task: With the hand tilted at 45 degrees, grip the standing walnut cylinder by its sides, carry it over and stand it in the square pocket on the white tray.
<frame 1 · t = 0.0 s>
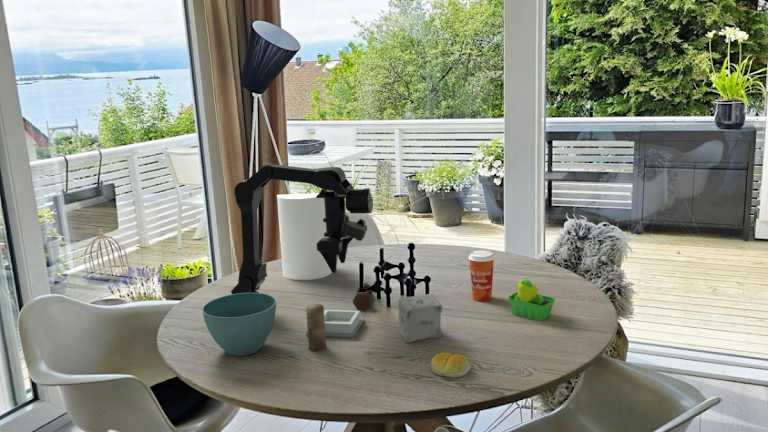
hand: (338, 267, 192), 15 cm above the table, tool pointing down, fingers open, 9 cm apart
cylinder: (307, 273, 239), on the table
paper cup: (482, 299, 205), on the table
teal bowl: (243, 350, 175), on the table
bolt: (364, 302, 208), on the table
light grey box: (420, 337, 178), on the table
walnut cylinder: (317, 347, 174), on the table
bread roll: (450, 371, 158), on the table
white tray: (335, 327, 187), on the table
fruit basket: (529, 316, 190), on the table
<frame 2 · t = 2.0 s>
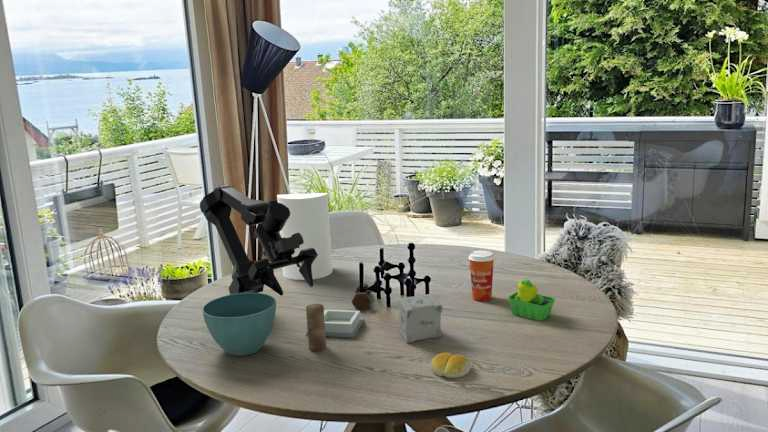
hand: (297, 290, 177), 14 cm above the table, tool tilted 45°, fingers open, 9 cm apart
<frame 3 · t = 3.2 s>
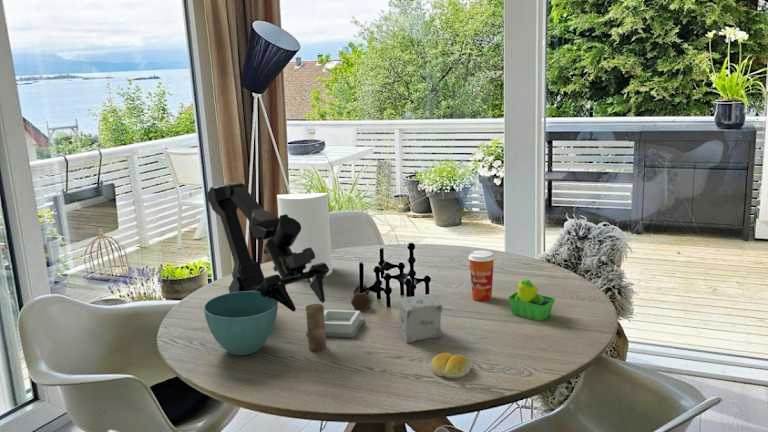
hand: (309, 306, 174), 10 cm above the table, tool tilted 45°, fingers open, 8 cm apart
teal bowl: (243, 349, 175), on the table, touching gripper
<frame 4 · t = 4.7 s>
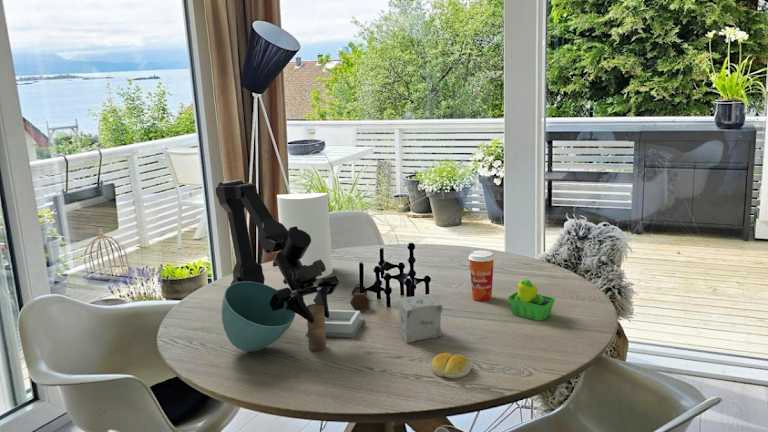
hand: (320, 319, 171), 8 cm above the table, tool tilted 45°, fingers closed on walnut cylinder, 4 cm apart
teal bowl: (244, 341, 174), point 2 cm above the table, touching gripper
walnut cylinder: (317, 347, 174), on the table, touching gripper
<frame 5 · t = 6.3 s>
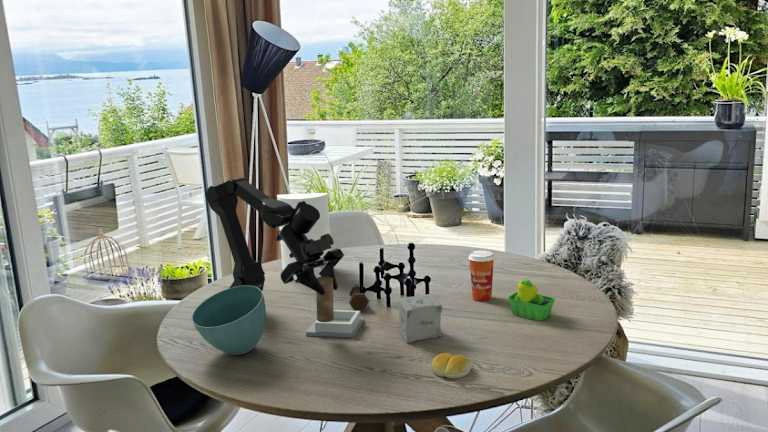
hand: (330, 291, 176), 13 cm above the table, tool tilted 45°, fingers closed on walnut cylinder, 4 cm apart
teal bowl: (243, 345, 174), point 1 cm above the table
walnut cylinder: (325, 319, 179), point 5 cm above the table, touching gripper
when the fingers open (9 cm above the table, at t = 8.1 s): walnut cylinder stays where it is, resting on white tray.
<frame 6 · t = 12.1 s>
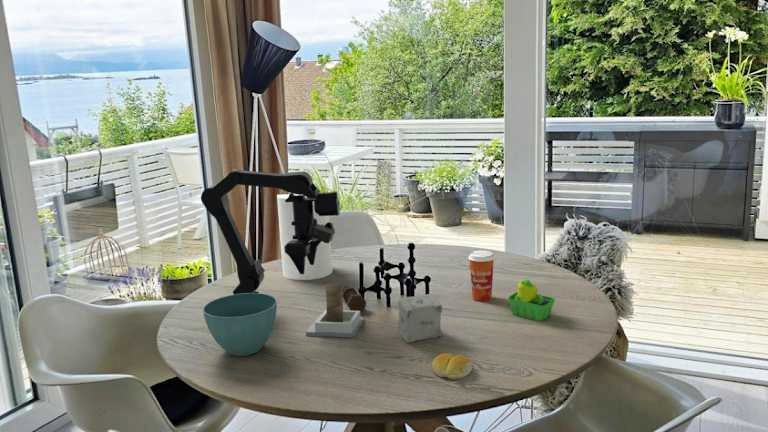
hand: (307, 269, 197), 13 cm above the table, tool pointing down, fingers open, 9 cm apart
teal bowl: (244, 350, 175), on the table
bolt: (352, 305, 206), on the table
walnut cylinder: (335, 324, 186), point 1 cm above the table, touching white tray
everything else where it was.
at the end: walnut cylinder inside the target area on the white tray (1.0 cm from its centre), point 1.2 cm above the white tray's base; walnut cylinder tilted 2°; the gripper is holding nothing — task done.
